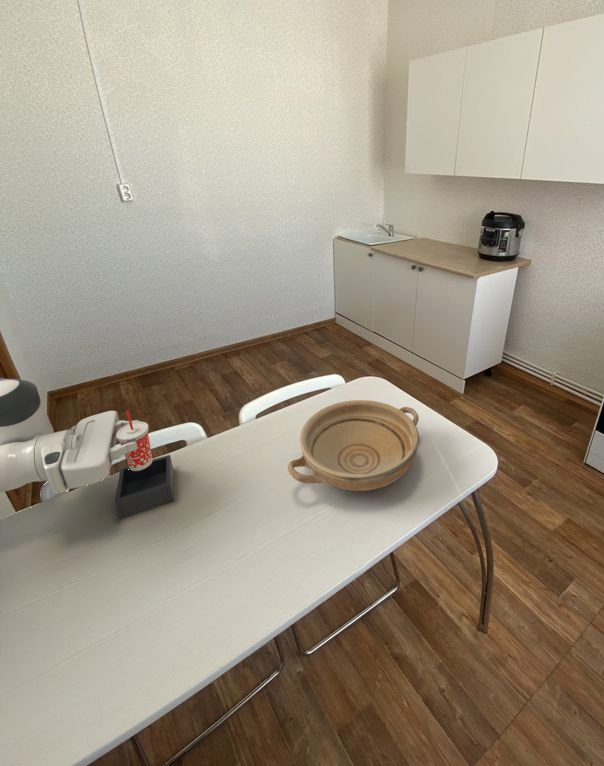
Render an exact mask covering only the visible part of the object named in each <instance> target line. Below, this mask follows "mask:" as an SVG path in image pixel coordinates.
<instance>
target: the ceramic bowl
mask: <svg viewBox="0 0 604 766" xmlns="http://www.w3.org/2000/svg"><path fill="white" fill-rule="evenodd" d="M408 414H411V415H412V416H413V419H412V418H411V417H410V416H409V415H408ZM419 420H420V417H419V414H418V412H417V411H416V410H415V409H414V408H412V407H409V406H403V407H400V408H397V407H395V406H393V405H390V404H388V403H385V402H381V401H376V400H369V399H354V400H353V399H352V400H345V401H341V402H337V403H334V404H331V405H328V406H326V407H324V408H322V409H320V410H318V411H317V412H316V413H313V415H312V416H311V417H310V418H309V419H308V420H307V421H306V422H305V424H304V425H303V427H302V429H301V432H300V437H299V444H300V450H301V454H302V455H301V457H300V458H297V459H293V460H291V461H290V462H289V463H288V464H287V471H288V473H289V475H290V476H291V477H292V478H293V479H295V480H296V481H297V482H299V483H301V484H302V483H303V484H308V485H311V484H314V485H315V484H327V485H329V486H331V487H333V488H336V489H339V490H343V491H349V492H368V491H373V490H375V491H376V490H378V489H382V488H384V487H387V486H388V485H391V484H392V483H395V482H396V481H397V480H398V479H400V478H401V477H402V476H404V475H405V474H406V472H408V471H409V470H410V468H411V466H412V464H413V463H414V461H415V459H416V456H417V452H418V447H419V443H420V435H419V431H418V427H417V426H418V423H419ZM301 467H303V468H308V469H309V470H310V471H311V473H312V474H311V475H309V474H302V473H300V472H299V471H297V470H296V469H295V468H301Z"/></svg>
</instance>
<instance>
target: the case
mask: <svg viewBox="0 0 604 766" xmlns="http://www.w3.org/2000/svg"><path fill="white" fill-rule="evenodd" d="M152 460H153V461H152V463H151V464H150V465H149V466H148V467H147V468H145V469H142V470H139V471H133V470H131V469H130V468H129V465H127V466H124V467H121V468H119V474H118V479H117V480H118V481H117V487H116V493H115V499H114V504H115V507H116V510H117V512H118V516H119V519H120V520H123V519H125V518H128V517H131V516H134V515H137V514H141V513H143V512H146V511H150V510H153V509H156V508H160V507H162V506H165V505H168V504H172V503H174V502H175V470H174V465H173V461H172V457H171V454H168V455H167V454H166V455H164V456H161V457H157V458H154V459H153V458H152ZM128 469H129V470H128Z"/></svg>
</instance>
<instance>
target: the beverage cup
mask: <svg viewBox="0 0 604 766" xmlns="http://www.w3.org/2000/svg"><path fill="white" fill-rule="evenodd" d="M125 412H126V416H127V421H129V424H128V425H126V426H124V427H122V428H121V429H120V430H119V431H118V432H117V433H116V437H117V439H116V441H118V442H119V444H120V446H122V445H124V444H126V443H127V441H129V440H133V439H136V440H137V443H138V447H137V450H135V451H131V452H128V453H127V454H125V455H124V458H125V459H126V462H127V466H129V468H130V469H131V470H133V471H139V470H142V469H145V468H147V467H148V466H149V465H150V464H151V463H152V461H153V455H152V449H151V448H152V447H151V441H150V436H149V431H150V429H149V428H150V427H149V424H148V423H147V422H145V421H139V422H134V423H132V421H133V420H132V418H131V414H130V410H129V409H126V410H125Z"/></svg>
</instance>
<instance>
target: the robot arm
mask: <svg viewBox="0 0 604 766" xmlns="http://www.w3.org/2000/svg"><path fill="white" fill-rule="evenodd" d="M131 421H132V423H134V422H140V420H139V419H135V420H131ZM128 424H129V420H120V418H119V413H118V411H116V410H108V411H104V412H100V413H97V414H94V415H90V416H88V417H84V418H83V419H81V420H80V421H79V422H78V423H76V424H75V425H73V426H72V427H71V428H70V429H64V430H59V431H56V432H55V430H54V427H53V425H52V423H51V421H50V418H49V415H48V414H47V412H46V409H45V407H44V405H43V403H42V401H41V396H40V393H39V391H38V387H37V386H36V384H35V383H33V382H32V381H28V380H25V379H20V378H4V377H0V494H1V493H5V492H8V491H11V490H16V489H19V488H21V487H23V486H25V485H28V484H31V483H35V482H46V481H47V483H49V487H50V489H51V491H52V493H53V494H54V495H59V494H62V493H64V492H66V491H67V490H68V489H72V490H73V489H78V488H82V487H85V486H90V485H92V484H96V483H99V482H102V481H104V480H105V479H106V478H108V477H109V476H110V474H111V469H112V464H113V461H116V460H119V459H120V458H122V457H124V456H125V454H127V453H128V452H131V451H135V450H137V447H138V443H137V440H136V439H133V440H129V441H127V443H126V444H124V445H122V446H121V445H120V446H116V443H117V437H116V433H117V432H118V431H119V430H120V429H121V428H122V427H124V426H126V425H128Z"/></svg>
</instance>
